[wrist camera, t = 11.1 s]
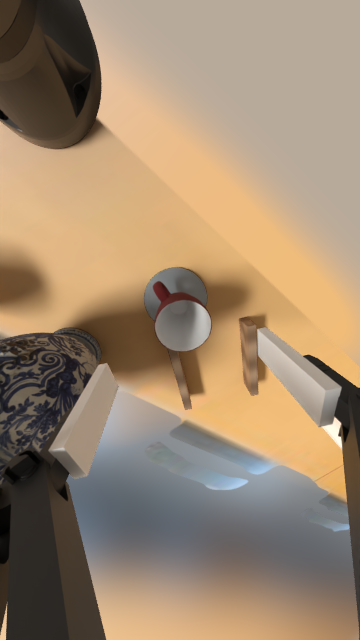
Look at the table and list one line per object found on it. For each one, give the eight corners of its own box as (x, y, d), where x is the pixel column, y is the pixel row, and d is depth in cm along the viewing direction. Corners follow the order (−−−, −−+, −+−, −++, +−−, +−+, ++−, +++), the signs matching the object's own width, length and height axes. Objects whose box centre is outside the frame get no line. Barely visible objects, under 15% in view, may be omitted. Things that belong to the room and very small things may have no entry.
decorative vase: (21, 289, 30) (-911, 563, 4) (128, 314, 33) (2, 545, 7) (26, 381, 37) (-278, 677, 12) (112, 393, 41) (25, 641, 15)
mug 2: (359, 405, 49) (416, 450, 38) (323, 426, 51) (365, 475, 40) (348, 391, 46) (406, 436, 35) (310, 415, 49) (352, 463, 38)
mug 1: (138, 296, 31) (127, 316, 22) (169, 264, 29) (170, 271, 20) (178, 331, 35) (182, 361, 25) (207, 305, 33) (223, 326, 24)
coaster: (136, 275, 30) (135, 276, 30) (201, 260, 30) (201, 260, 29) (154, 333, 35) (153, 334, 34) (210, 320, 35) (210, 321, 34)
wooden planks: (166, 334, 35) (166, 344, 32) (246, 317, 35) (256, 324, 31) (183, 396, 42) (185, 410, 39) (250, 381, 42) (258, 394, 38)
